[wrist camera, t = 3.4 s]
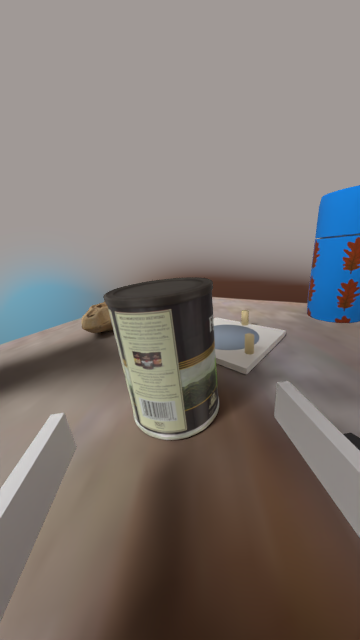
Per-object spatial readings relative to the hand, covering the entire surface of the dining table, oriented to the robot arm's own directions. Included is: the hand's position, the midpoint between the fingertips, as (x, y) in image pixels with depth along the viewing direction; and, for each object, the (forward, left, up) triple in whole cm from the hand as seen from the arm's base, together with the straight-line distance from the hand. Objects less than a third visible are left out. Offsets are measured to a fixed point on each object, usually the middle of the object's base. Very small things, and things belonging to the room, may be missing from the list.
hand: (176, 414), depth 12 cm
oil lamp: (-40, +13, -8) cm, 43 cm away
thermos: (+2, +49, -8) cm, 50 cm away
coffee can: (-7, +6, -8) cm, 12 cm away
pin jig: (-11, +24, -7) cm, 27 cm away
